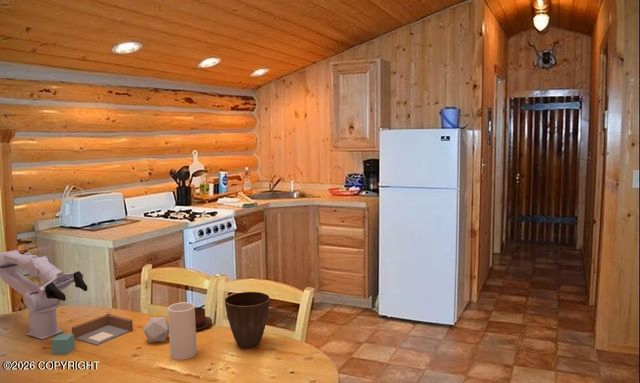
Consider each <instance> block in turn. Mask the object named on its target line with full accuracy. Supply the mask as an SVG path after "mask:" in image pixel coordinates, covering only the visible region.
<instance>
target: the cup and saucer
mask: <svg viewBox="0 0 640 383" xmlns="http://www.w3.org/2000/svg"><path fill="white" fill-rule="evenodd" d="M212 323H213V319H212V318H211V317H210V316H206V309H205V308H204V307H199V306H198V307H197V306H195V324H196V331H199V330H203V329H206V328H208V327H209V326H210V325H212Z"/></svg>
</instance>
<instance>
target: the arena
mask: <svg viewBox="0 0 640 383" xmlns="http://www.w3.org/2000/svg"><path fill="white" fill-rule="evenodd" d="M133 327H134V326H133V319H131V318H127V317H124V316H118V315H115V314H111V313H107V314H103V315H102V316H99V317H96V318H94V319H91V320H87V321H85V322H83V323H80V324H77V325H75V326H72V327H71V332H72V333H71V334H74V340H77V341H80V342H84V343H87V344H90V345H94V346H99V345H102V344H104V343H107V342H108V341H111V340H114V339H115V338H118V337H121V336H123V335H125V334H127V333H130V332H132V331H133V330H134V329H133Z"/></svg>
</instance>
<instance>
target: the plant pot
mask: <svg viewBox="0 0 640 383" xmlns="http://www.w3.org/2000/svg"><path fill="white" fill-rule="evenodd" d="M270 299H271V297H270V296H269V294H267V293H264V292H259V291H258V292H257V291H244V292H237V293H232V294H230V295H228V296H227V297H225V298H224V305H225V311H226V316H227V319H228V323H229V327H230V331H231V333H232V335H233V338H234V341H235V343H236V346H237V347H238V348H239V349H243V350H251V349H255V348H257V347H259V345H260V344H261V341H262V338H263V335H264V332H265V329H266V324H267V321H268V320H267V319H268V314H269V308H270Z"/></svg>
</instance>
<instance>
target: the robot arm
mask: <svg viewBox="0 0 640 383" xmlns="http://www.w3.org/2000/svg"><path fill="white" fill-rule="evenodd" d="M23 270H24V271H27V273H28V274H29V275H30V276H31V277H33V276H34V277H36V278H37V277H38V278H40V279H41V280H43V281H44V282H45V283H44V285H42V286H39V285H38V284H36V283H35V282H33V281H32V280H30V279H29V278H27V277H26V276H24V275H23V274H21V273H22V272H23ZM0 279H1V280H2V281H3V282H4V283H5V284H6V285H7V286H8V287H11V288H12V289H14V290H15V291H16V292H18V294H20V295H22V296H23V297H24V298H23V299H24V300H23V302H24V306H26V308H27V310H28V311H29V313H28V315H27V320H28V321H27V322H28V330H29V332H27V333H26V335H28V336H30V337H33V338H37V339H40V340H46V339H48V338H51V337H54V336H57V335H58V334H62V333H63V332H64V330H63V329H59V328H58V318H57V317H58V316H57V309H58V308H59V307H58V306H59V305H60V304H61V301H63V302H64V301H67V300H66V295H65V293H64V292H63V290H65V289H66V288H67V287H69V286H70V285H71V284H73V283H74V286H75V287H74V288H79V289H81V290H82V291H84V292H87V291H88V285H87V284H86V282H85V280H84V273H83V272H82V271H80V270H79V271H75V272H65V273H64V272H63V270H60V269H59V268H58V267H56V266H55V265H54V264H53V263H52V260H51V258H50V257H49V256H48V255H43V256H41V257H40V256H38V255H37V254H31V252H25V253H23V254H21V253H20V251H19V250H18V249H12V250H10V251H4V252H0Z"/></svg>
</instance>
